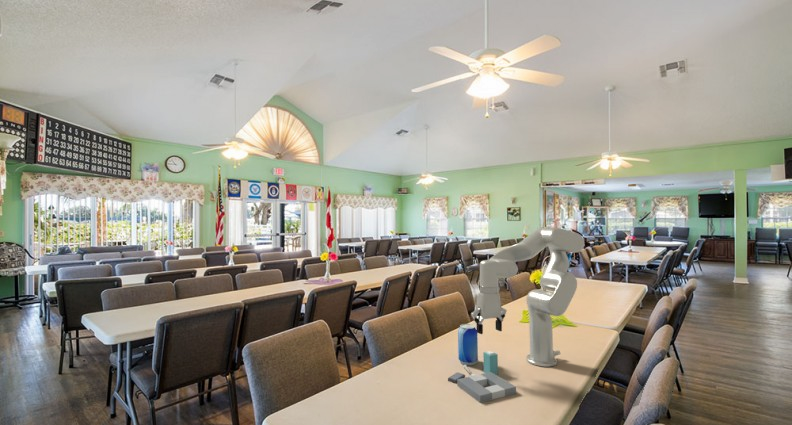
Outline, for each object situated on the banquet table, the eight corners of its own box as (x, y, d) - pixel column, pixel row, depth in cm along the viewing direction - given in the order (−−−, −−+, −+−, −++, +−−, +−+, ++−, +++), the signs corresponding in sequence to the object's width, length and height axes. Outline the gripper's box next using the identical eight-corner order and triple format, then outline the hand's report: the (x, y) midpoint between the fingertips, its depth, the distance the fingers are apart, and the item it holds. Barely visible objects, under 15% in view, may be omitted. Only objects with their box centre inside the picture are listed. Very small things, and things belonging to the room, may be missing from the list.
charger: (491, 370, 148) (491, 349, 149) (497, 373, 145) (497, 353, 145) (483, 371, 147) (483, 351, 147) (489, 375, 143) (489, 354, 143)
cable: (463, 367, 151) (463, 364, 151) (465, 367, 152) (465, 364, 152) (472, 378, 141) (472, 375, 141) (475, 378, 141) (475, 375, 141)
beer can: (466, 367, 151) (466, 329, 152) (454, 360, 159) (454, 324, 159) (481, 363, 155) (481, 327, 156) (469, 357, 163) (469, 322, 163)
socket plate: (491, 377, 141) (491, 371, 141) (516, 393, 128) (516, 386, 128) (457, 385, 134) (457, 379, 135) (480, 402, 122) (479, 395, 122)
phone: (457, 374, 144) (457, 372, 144) (465, 377, 142) (465, 374, 142) (448, 380, 139) (447, 377, 139) (455, 383, 136) (455, 380, 136)
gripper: (499, 287, 154) (499, 327, 153) (466, 290, 147) (466, 331, 146) (511, 290, 147) (512, 331, 146) (477, 293, 140) (477, 337, 139)
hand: (489, 331), depth 146 cm, fingers open, 9 cm apart
